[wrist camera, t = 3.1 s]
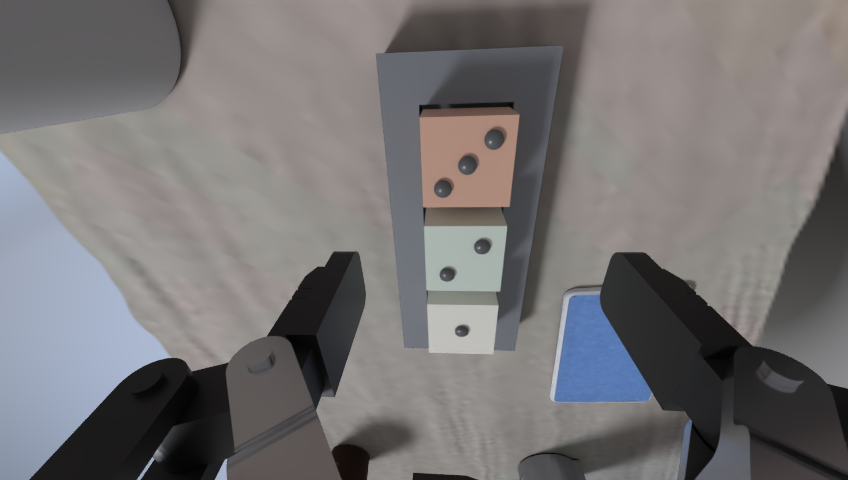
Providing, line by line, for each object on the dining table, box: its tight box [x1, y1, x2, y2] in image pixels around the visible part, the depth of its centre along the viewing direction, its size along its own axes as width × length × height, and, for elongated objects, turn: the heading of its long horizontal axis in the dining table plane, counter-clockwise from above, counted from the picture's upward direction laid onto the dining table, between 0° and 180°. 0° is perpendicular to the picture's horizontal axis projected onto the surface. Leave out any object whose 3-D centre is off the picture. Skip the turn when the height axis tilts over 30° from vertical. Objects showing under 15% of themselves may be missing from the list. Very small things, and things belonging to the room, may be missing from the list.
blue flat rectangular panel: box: [550, 284, 692, 403], centre depth 37 cm, size 19×13×1 cm, turn 7°
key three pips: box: [419, 107, 520, 207], centre depth 22 cm, size 6×6×4 cm
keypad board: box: [376, 45, 564, 351], centre depth 28 cm, size 12×28×3 cm, turn 2°
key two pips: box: [424, 207, 507, 292], centre depth 26 cm, size 6×6×4 cm
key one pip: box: [427, 291, 499, 354], centre depth 29 cm, size 6×6×4 cm
